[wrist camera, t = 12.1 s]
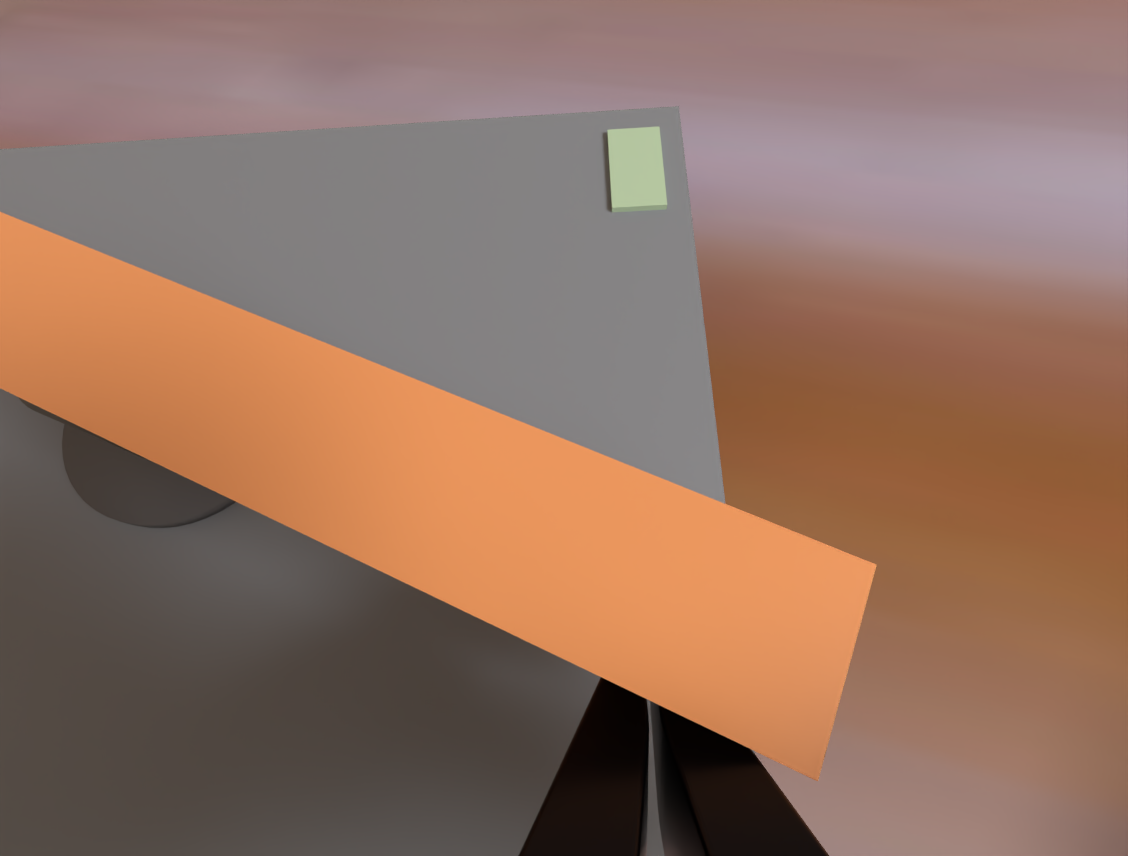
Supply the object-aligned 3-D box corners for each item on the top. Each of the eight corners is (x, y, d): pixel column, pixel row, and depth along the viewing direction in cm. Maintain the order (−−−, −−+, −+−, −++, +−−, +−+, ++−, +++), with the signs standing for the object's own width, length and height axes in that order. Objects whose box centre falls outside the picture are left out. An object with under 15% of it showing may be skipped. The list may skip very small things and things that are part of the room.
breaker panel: (740, 825, 14) (772, 862, 12) (-361, 834, 16) (-555, 869, 13) (670, 164, 21) (680, 95, 19) (-81, 208, 23) (-170, 149, 20)
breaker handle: (702, 726, 13) (811, 801, 6) (-224, 281, 19) (-686, 70, 12) (744, 601, 14) (880, 549, 7) (-155, 213, 20) (-550, -20, 13)
